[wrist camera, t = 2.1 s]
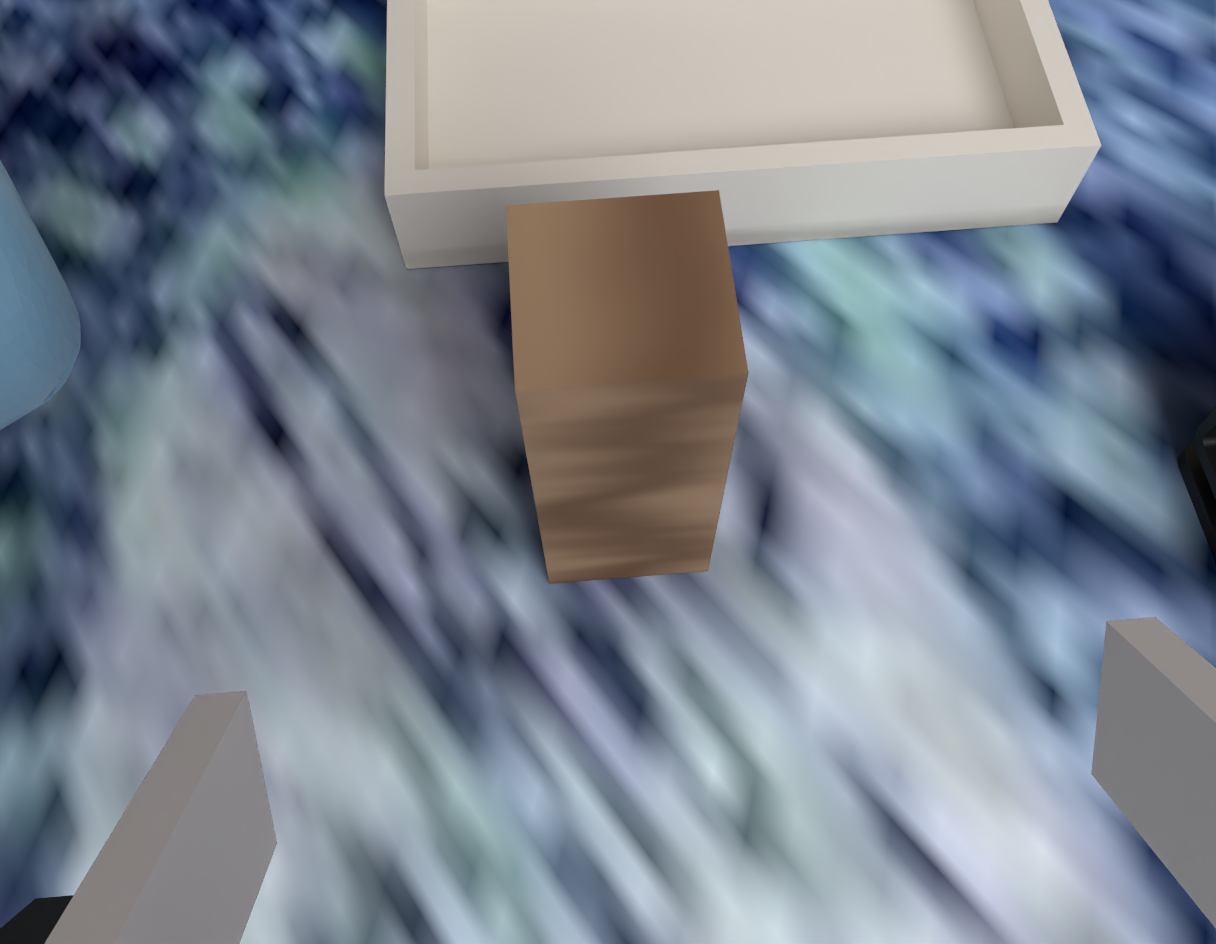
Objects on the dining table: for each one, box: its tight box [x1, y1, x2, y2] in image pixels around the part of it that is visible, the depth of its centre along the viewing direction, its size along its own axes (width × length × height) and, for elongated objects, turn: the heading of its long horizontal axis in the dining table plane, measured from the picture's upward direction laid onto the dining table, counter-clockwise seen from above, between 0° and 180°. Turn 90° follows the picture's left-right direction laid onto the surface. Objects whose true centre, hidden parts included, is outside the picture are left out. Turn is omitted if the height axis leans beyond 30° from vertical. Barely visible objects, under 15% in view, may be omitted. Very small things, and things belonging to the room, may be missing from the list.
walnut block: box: [506, 190, 748, 584], centre depth 29 cm, size 5×5×12 cm
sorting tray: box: [385, 0, 1101, 269], centre depth 41 cm, size 24×16×4 cm, turn 95°
